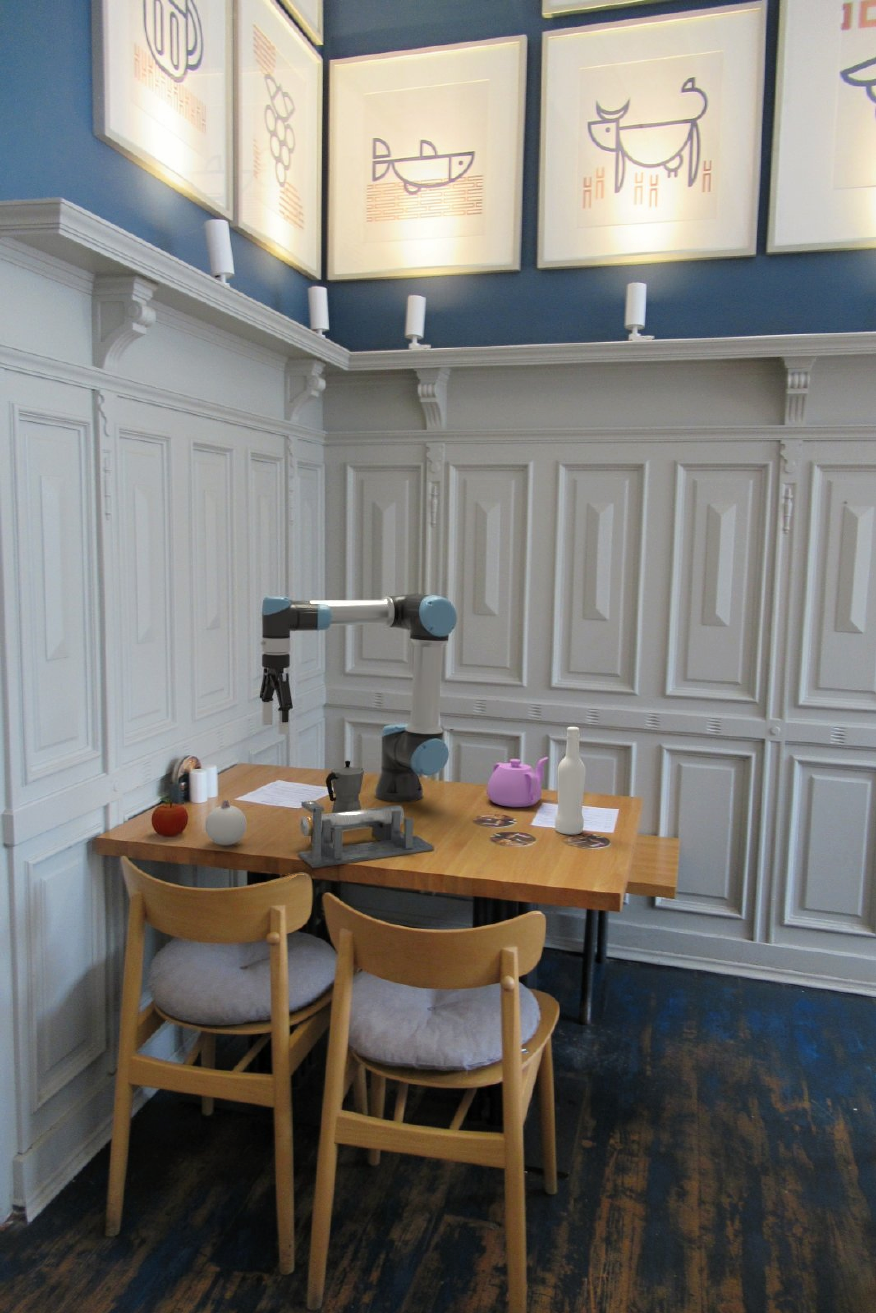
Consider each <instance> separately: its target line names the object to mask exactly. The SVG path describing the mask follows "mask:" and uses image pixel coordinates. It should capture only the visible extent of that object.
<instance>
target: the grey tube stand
mask: <svg viewBox="0 0 876 1313" xmlns="http://www.w3.org/2000/svg"><path fill="white" fill-rule="evenodd" d="M300 805H301V807H302V808H304V809H305V810H307V811H308V812H310V813H312V816H313V843H311V845H312V848H311V850H305V851H299V852H298V853H297V854H298V855H297V857H298V858H300V859H301V860H302V859H303V860H302V861H303V862H305V863H306V864H308V866H310V867H311V868H312V869H316V868H323V867H330V866H337V865H344V864H351V863H356V862H365V861H371V860H379V859H384V858H391V857H398V856H404V855H411V854H418V853H423V852H430V851H434V850H435V846H434V845H432V844H430V843H429V842H427V841H425V840H424V839H422V838H420V837H419V836H417V835H414V817H411V816H410V817H404V820H403V832H402V831H401V823H400V815H401V811H399V810H397V811H392V824H391V839H390V840H383V841H381V840H377V841H370V842H363V843H362V842H361V843H356V844H349V845H343V832H344V831H343V828H342V827H341V826H340V827H333V842H331V820H330V819H325V820H322V814H323V813H322V812H324V811H325V810H324V809H325V808H324V806H322V804H319V803H318V802H316V801H315V800H308V801H307V800H306V801H301V804H300ZM321 820H322V846H321Z"/></svg>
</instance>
